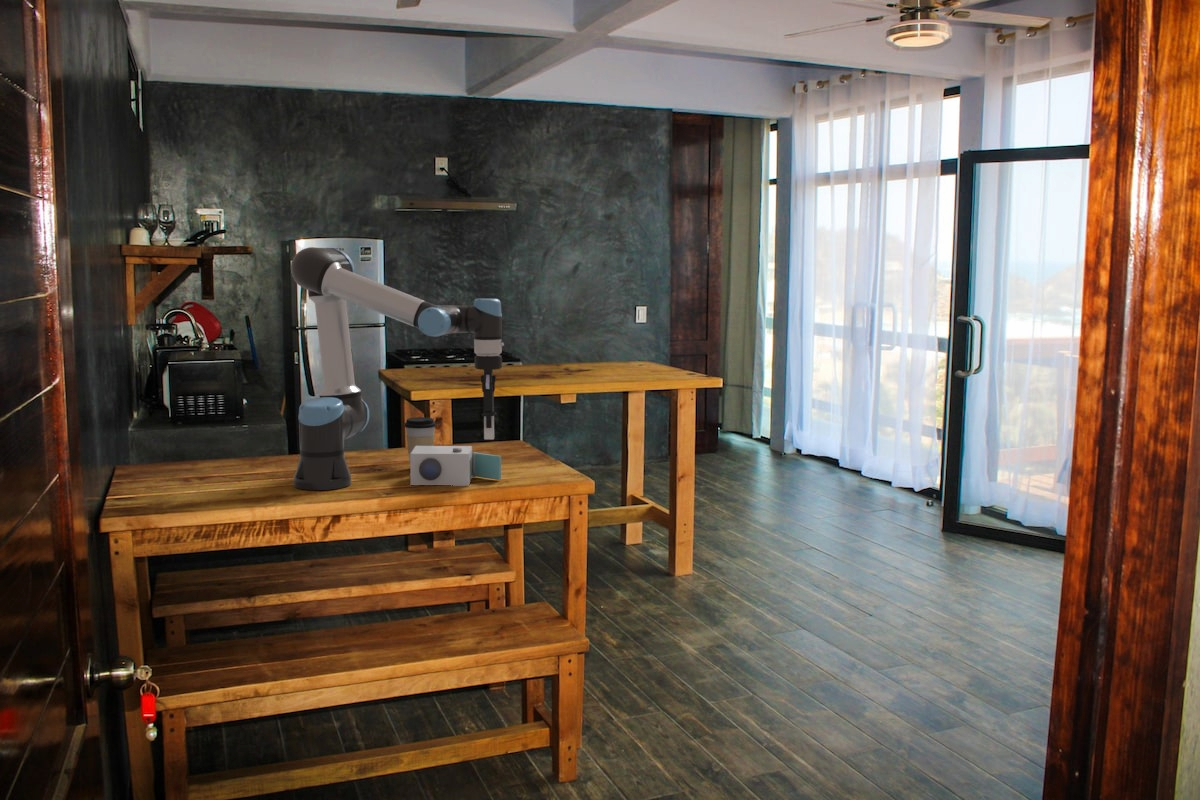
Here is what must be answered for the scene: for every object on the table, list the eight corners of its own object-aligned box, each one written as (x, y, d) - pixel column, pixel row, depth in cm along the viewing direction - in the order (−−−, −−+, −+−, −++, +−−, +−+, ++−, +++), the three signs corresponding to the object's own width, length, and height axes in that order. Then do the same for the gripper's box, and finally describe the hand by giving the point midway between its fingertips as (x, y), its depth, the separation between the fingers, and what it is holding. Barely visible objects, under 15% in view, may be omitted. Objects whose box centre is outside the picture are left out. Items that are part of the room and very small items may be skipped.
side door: (471, 476, 283) (471, 452, 282) (475, 475, 284) (475, 451, 283) (498, 481, 278) (498, 456, 277) (502, 479, 279) (502, 454, 278)
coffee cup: (429, 472, 288) (429, 422, 286) (399, 471, 290) (398, 420, 288) (441, 466, 297) (440, 417, 295) (411, 464, 299) (411, 416, 297)
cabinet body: (409, 486, 270) (409, 451, 268) (415, 476, 283) (415, 443, 281) (469, 487, 271) (469, 451, 269) (472, 476, 284) (472, 443, 282)
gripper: (501, 356, 265) (501, 442, 268) (502, 352, 278) (503, 435, 281) (473, 356, 265) (474, 443, 268) (476, 352, 278) (477, 435, 281)
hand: (489, 438), depth 275 cm, fingers closed
